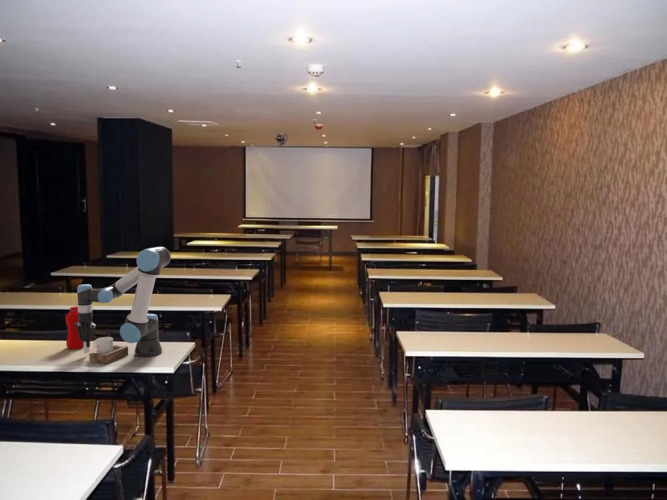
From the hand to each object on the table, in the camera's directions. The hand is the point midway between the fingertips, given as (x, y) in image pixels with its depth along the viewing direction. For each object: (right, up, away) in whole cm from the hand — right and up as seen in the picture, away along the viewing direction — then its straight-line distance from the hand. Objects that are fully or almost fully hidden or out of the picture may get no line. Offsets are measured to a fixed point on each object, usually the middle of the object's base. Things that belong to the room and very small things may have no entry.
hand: (86, 352), depth 333 cm
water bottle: (-15, 0, +18) cm, 23 cm away
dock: (+15, -3, -4) cm, 15 cm away
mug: (+11, -3, -3) cm, 11 cm away
